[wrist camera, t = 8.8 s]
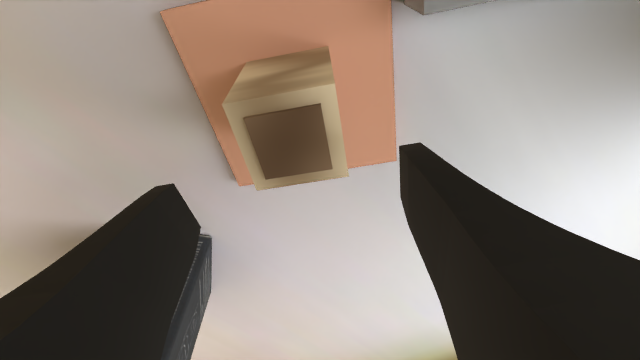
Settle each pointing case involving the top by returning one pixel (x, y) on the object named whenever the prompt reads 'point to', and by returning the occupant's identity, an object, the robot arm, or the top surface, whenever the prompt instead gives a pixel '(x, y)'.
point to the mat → (289, 37)
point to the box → (190, 305)
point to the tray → (440, 5)
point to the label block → (288, 119)
